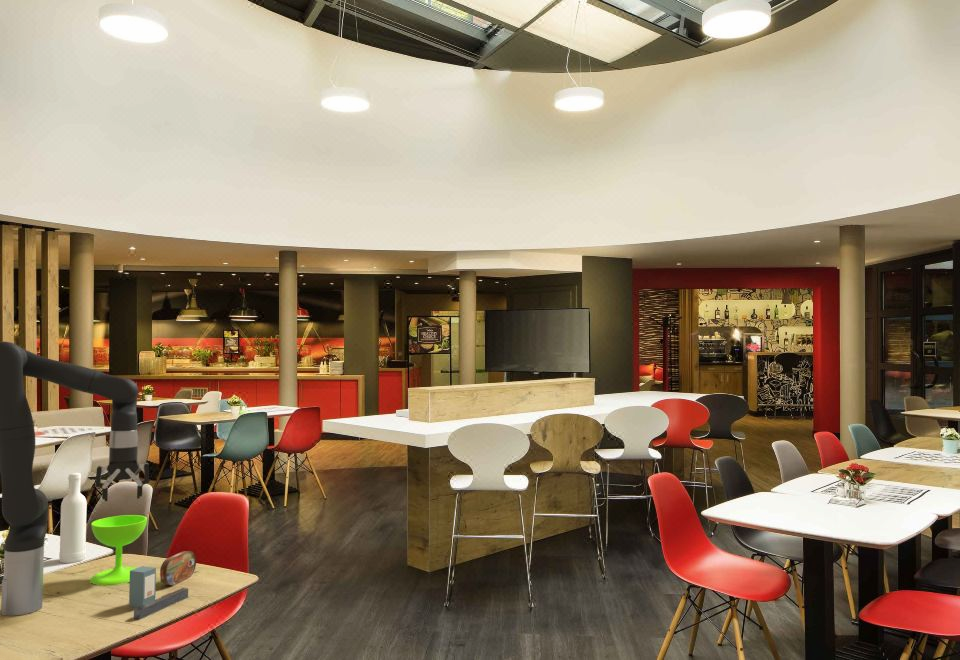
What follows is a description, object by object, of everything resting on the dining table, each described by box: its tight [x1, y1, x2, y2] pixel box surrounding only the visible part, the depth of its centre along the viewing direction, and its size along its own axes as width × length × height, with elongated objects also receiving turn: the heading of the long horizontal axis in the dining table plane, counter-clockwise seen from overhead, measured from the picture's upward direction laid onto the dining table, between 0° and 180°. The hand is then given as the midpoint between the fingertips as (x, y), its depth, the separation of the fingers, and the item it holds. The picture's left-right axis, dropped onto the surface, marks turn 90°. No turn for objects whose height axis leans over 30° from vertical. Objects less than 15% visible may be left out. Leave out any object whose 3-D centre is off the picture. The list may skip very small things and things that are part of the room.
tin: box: [159, 550, 197, 586], centre depth 214 cm, size 15×3×8 cm, turn 168°
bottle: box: [59, 472, 88, 564], centre depth 236 cm, size 8×8×30 cm
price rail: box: [133, 587, 189, 620], centre depth 191 cm, size 18×3×2 cm, turn 161°
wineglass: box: [89, 514, 148, 586], centre depth 217 cm, size 16×16×18 cm
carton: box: [128, 565, 157, 608], centre depth 193 cm, size 5×4×10 cm
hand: (122, 499), depth 202 cm, fingers open, 8 cm apart
